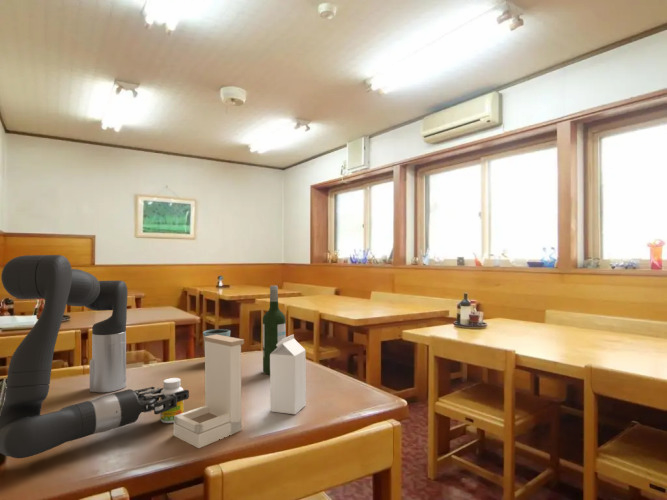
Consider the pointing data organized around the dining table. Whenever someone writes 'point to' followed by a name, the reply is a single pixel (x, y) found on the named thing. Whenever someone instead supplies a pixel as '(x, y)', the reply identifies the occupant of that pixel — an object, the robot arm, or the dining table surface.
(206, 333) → the drinking glass
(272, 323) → the wine bottle
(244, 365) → the dining table surface
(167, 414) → the supplement bottle
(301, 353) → the milk carton
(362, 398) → the dining table surface
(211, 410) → the white feeder tower
